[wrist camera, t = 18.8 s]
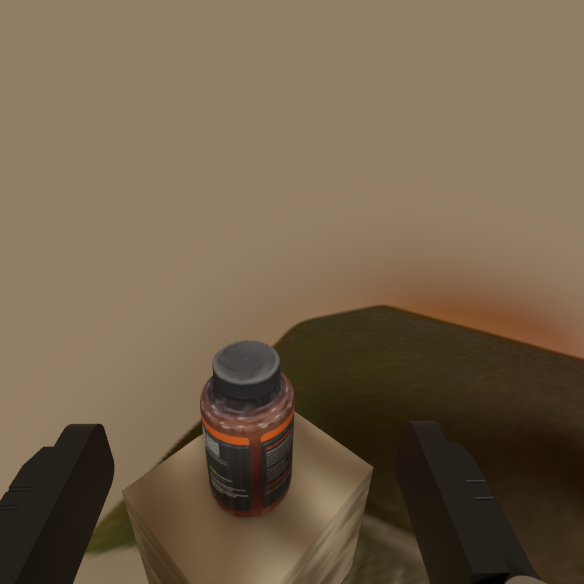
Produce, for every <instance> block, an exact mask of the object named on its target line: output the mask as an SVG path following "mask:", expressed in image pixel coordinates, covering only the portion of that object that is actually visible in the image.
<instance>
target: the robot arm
mask: <svg viewBox="0 0 584 584" xmlns="http://www.w3.org/2000/svg"><path fill="white" fill-rule="evenodd" d="M396 471H397V478H398V482H399V485H400V488H401V491H402V495H403V498H404V501H405V504H406V507H407V510H408V514H409V517H410V520H411V523H412V526H413V530H414V533H415V536H416V539H417V542H418V545H419V549H420V552H421V555H422V558H423V561H424V565H425V568H426V571H427V574H428V577H429V580H430V584H546V583H544V582H543V581H542V580H541V579H540V578H539V576H538V575H537V574H536V572H535V571H534V569H533V567H532V566H531V564H530V562H529V560H528V558H527V556H526V554H525V553H524V551H523V549H522V547H521V545H520V543H519V541H518V539H517V537H516V536H515V534H514V532H513V530H512V528H511V526H510V524H509V522H508V521H507V519H506V517H505V515H504V513H503V511H502V509H501V507H500V506H499V504H498V502H497V500H495V499H494V494H493V492H492V491H491V489H490V487H489V485H488V483H486V482H485V477H484V476H483V474H482V472H481V470H480V468H479V466H478V464H477V462H476V461H475V459H474V458H473V457H472V456H471V455H470V454H469V453H468V452H467V451H466V450H465V449H464V447H463V446H462V445H461V444H460V443H459V442H447V440H446V438H445V436H444V434H443V432H442V430H441V428H440V426H439V424H438V423H437V422H436V421H407V422H406V423H405V426H404V430H403V434H402V438H401V441H400V445H399V449H398V453H397V457H396ZM113 476H114V460H113V456H112V453H111V450H110V446H109V443H108V440H107V436H106V433H105V430H104V427H103V425H101V424H70V425H68V426H67V427H66V428H65V429H64V430H63V432H62V433H61V436H60V437H59V439H58V440H57V442H56V444H55V445H54V447H43V448H42V449H40V451H38V452H37V453H36V454H35V455H34V456H33V457H32V458H31V459H29V460H28V461H27V462H26V463H25V464H24V465H23V466H22V468H21V469H20V471H19V472H18V474H17V475H16V477H15V479H14V480H13V482H12V483H11V485H10V486H9V490H8V492H6V493H5V494H4V496H3V497H2V499H1V500H0V584H73V582H74V579H75V577H76V574H77V572H78V569H79V566H80V564H81V561H82V559H83V556H84V554H85V551H86V549H87V546H88V544H89V541H90V539H91V536H92V533H93V531H94V528H95V526H96V523H97V521H98V518H99V516H100V513H101V510H102V508H103V505H104V503H105V500H106V498H107V495H108V493H109V490H110V488H111V485H112V481H113Z"/></svg>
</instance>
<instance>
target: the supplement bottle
mask: <svg viewBox="0 0 584 584" xmlns="http://www.w3.org/2000/svg"><path fill="white" fill-rule="evenodd" d="M212 365H213V376H212V377H211V378H210V379H209V380H208V381H207V383H206V384H205V386H204V388H203V390H202V394H201V400H200V409H201V419H202V426H203V434H204V443H205V451H206V459H207V467H208V476H209V483H210V487H211V492H212V495H213V497H214V499H215V500H216V502H217V503H218V505H220V506H221V507H222V508H223V509H224V510H225V511H227V512H229V513H231V514H233V515H236V516H241V517H254V516H259V515H263V514H266V513H268V512H270V511H271V510H273V509H274V508H275V507H276V506H278V505H279V504H280V503H281V501H282V500H283V499H284V498H285V496H286V494H287V492H288V490H289V487H290V484H291V477H292V459H293V432H294V402H295V399H294V391H293V388H292V385H291V383H290V381H289V379H288V378H287V377H286V376H285V375H284V374H283V373H282V372H281V371H280V359H279V355H278V353H277V352H276V351H275V350H274V349H273V348H272V347H270V346H269V345H267V344H265V343H262V342H258V341H240V342H235V343H232V344H230V345H227V346H225V347H224V348H222V349H221V350H220V351H219V352H218V353H217V354H216V355H215V357H214V359H213V364H212Z"/></svg>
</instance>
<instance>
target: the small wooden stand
mask: <svg viewBox="0 0 584 584" xmlns="http://www.w3.org/2000/svg"><path fill="white" fill-rule="evenodd" d="M373 468H374V467H372V466H371V465H369V464H368V463H367V462H365V461H364V460H362V459H361V458H360V457H358V456H357V455H355V454H354V453H352V452H351V451H350V450H348V449H347V448H345V447H344V446H343V445H341V444H340V443H338V442H337V441H336V440H334V439H333V438H331V437H330V436H328V435H327V434H326V433H324V432H323V431H321V430H320V429H319V428H317V427H316V426H314V425H313V424H312V423H310V422H309V421H307V420H306V419H305V418H303V417H302V416H300V415H299V414H297V413H296V412H295V411H294V432H293V459H292V477H291V484H290V487H289V490H288V492H287V494H286V496H285V498H284V499H283V500H282V501H281V503H280V504H279V505H278V506H276V507H275V508H274V509H273V510H271V511H270V512H268V513H266V514H263V515H259V516H254V517H241V516H236V515H233V514H231V513H229V512H227V511H225V510H224V509H223V508H222V507H221V506H220V505H218V503H217V502H216V500H215V499H214V497H213V495H212V492H211V487H210V483H209V476H208V467H207V459H206V451H205V443H204V434H202V435H200V436H199V437H197V438H196V439H195V440H193V441H192V442H190V443H189V444H187V445H186V446H185V447H183V448H182V449H180V450H179V451H178V452H176V453H175V454H173V455H172V456H171V457H169V458H168V459H166V460H165V461H164V462H162V463H161V464H159V465H158V466H157V467H155V468H154V469H152V470H151V471H150V472H148V473H147V474H145V475H144V476H143V477H141V478H140V479H139V480H137V481H136V482H134V483H133V484H131V485H130V486H129V487H127V488H126V489H125V490H123V491H122V493H123V497H124V500H125V504H126V507H127V510H128V514H129V517H130V521H131V524H132V527H133V531H134V534H135V538H136V541H137V545H138V548H139V551H140V554H141V558H142V561H143V565H144V568H145V572H146V575H147V579H148V582H149V584H341V583H342V581H343V580H344V578H345V577H346V575H347V574H348V572H349V571H350V570H351V568H352V563H353V558H354V554H355V549H356V545H357V540H358V536H359V531H360V527H361V522H362V518H363V513H364V508H365V504H366V499H367V495H368V490H369V486H370V481H371V477H372V472H373Z"/></svg>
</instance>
